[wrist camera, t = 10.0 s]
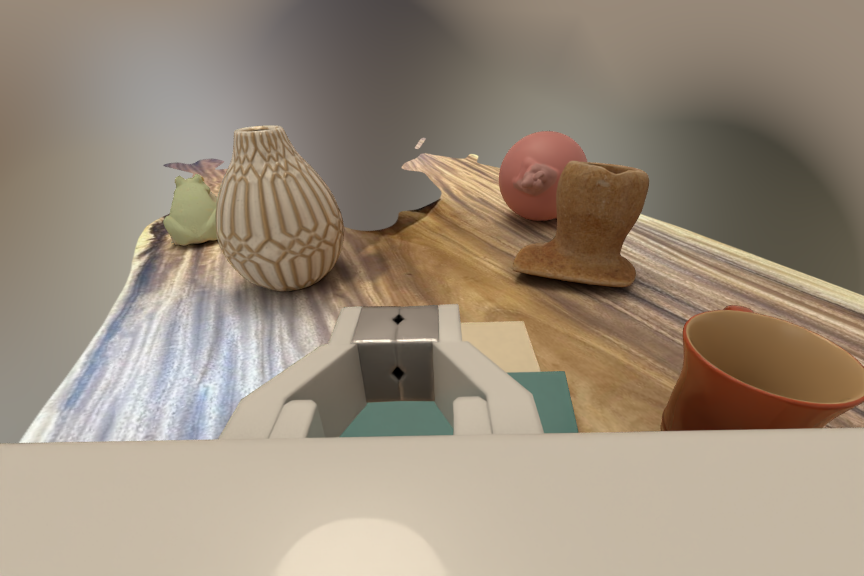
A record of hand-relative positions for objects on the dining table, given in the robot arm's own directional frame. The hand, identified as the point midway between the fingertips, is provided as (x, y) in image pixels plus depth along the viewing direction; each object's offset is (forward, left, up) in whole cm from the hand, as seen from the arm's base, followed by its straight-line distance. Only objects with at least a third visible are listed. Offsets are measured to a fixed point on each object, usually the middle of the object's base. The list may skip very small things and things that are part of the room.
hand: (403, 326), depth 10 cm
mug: (+22, -8, -20) cm, 31 cm away
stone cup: (+42, +12, -20) cm, 48 cm away
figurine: (+15, +72, -20) cm, 76 cm away
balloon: (+56, +26, -20) cm, 65 cm away
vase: (+16, +42, -20) cm, 49 cm away
